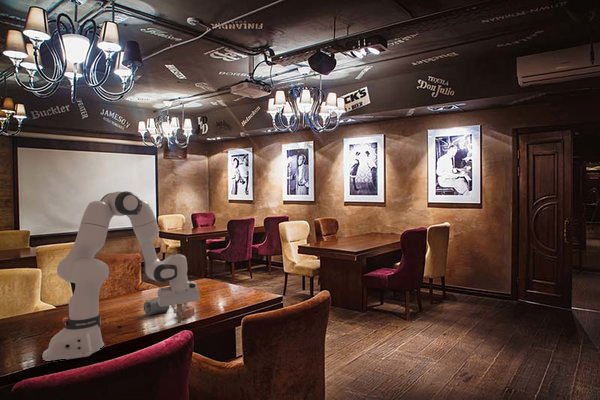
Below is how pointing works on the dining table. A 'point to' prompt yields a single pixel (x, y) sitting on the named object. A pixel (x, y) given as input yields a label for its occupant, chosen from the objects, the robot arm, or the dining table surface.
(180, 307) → the dowel
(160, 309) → the spool
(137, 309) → the dining table surface
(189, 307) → the bead
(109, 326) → the dining table surface
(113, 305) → the dining table surface
